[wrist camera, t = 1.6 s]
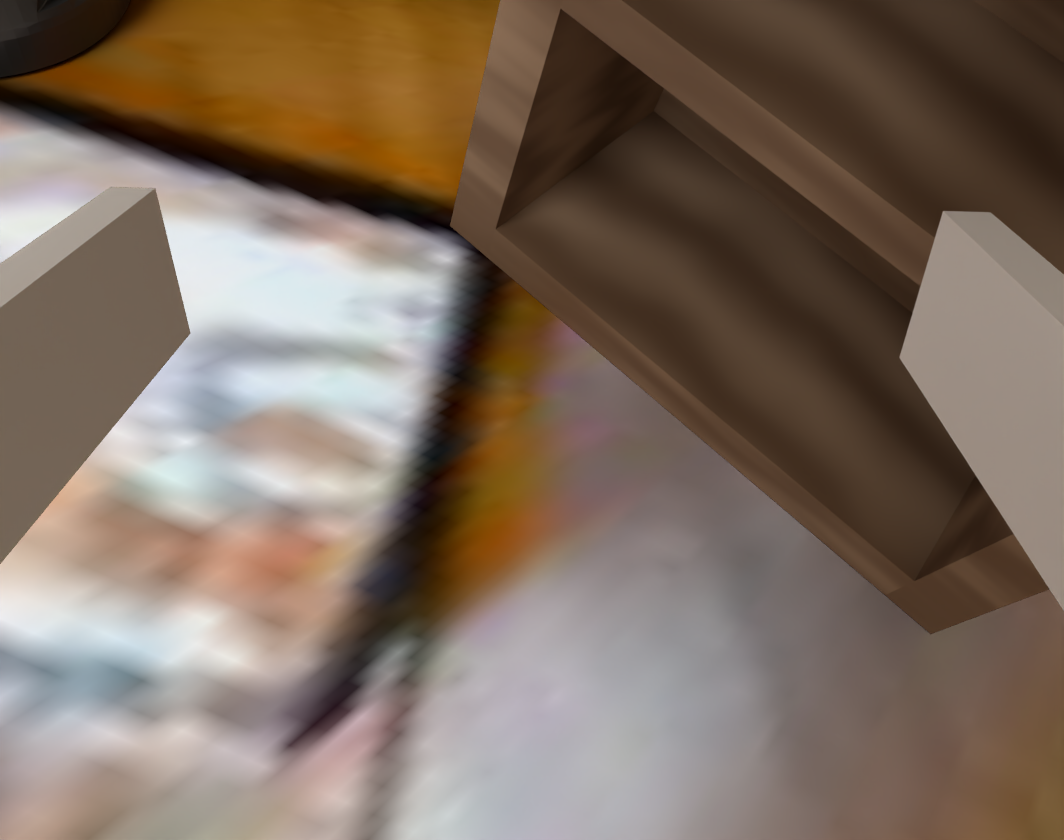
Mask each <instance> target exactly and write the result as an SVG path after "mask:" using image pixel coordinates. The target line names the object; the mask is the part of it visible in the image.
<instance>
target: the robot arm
mask: <svg viewBox="0 0 1064 840" xmlns="http://www.w3.org/2000/svg"><path fill="white" fill-rule="evenodd" d="M129 3H130V0H0V77H5V76H11V75H17V74H21V73H26V72H30V71H34V70H38V69H41V68H44V67H47V66H50V65H53V64H56V63H59V62H61V61H64V60H66V59H68V58H70V57H72V56H75V55H77V54H78V53H80V52H82V51H84V50H86V49H87V48H89V47H90V46H92V45H94V44H95V43H96V42H98V41H99V40H100V39H102V38H103V37H104V36H105V35H106V34H107V33H109V32H110V31H111V30H112V28H113V27H114V26H115V25H116V24H117V23H118V22H119V20H120V19H121V18H122V16H123V14H124V13H125V11H126V9H127V7H128V5H129ZM189 334H190V330H189V325H188V321H187V317H186V313H185V309H184V305H183V301H182V297H181V293H180V288H179V284H178V280H177V276H176V272H175V268H174V264H173V260H172V255H171V251H170V247H169V243H168V239H167V235H166V231H165V227H164V223H163V218H162V214H161V210H160V206H159V202H158V198H157V194H156V190H155V188H126V187H110V188H109V189H107V190H106V191H104V192H103V193H101V194H100V195H98V196H97V197H96V198H94V199H93V200H91V201H90V202H88V203H87V204H85V205H84V206H83V207H81V208H80V209H78V210H77V211H75V212H74V213H73V214H71V215H70V216H68V217H67V218H65V219H64V220H62V221H61V222H60V223H58V224H57V225H55V226H54V227H52V228H51V229H49V230H48V231H47V232H45V233H44V234H42V235H41V236H39V237H38V238H36V239H35V240H34V241H32V242H31V243H29V244H28V245H26V246H25V247H24V248H22V249H21V250H19V251H18V252H16V253H15V254H13V255H12V256H11V257H9V258H8V259H6V260H5V261H3V262H2V263H0V564H1V562H2V561H3V560H4V559H5V558H6V556H7V555H8V554H9V553H10V552H11V550H12V549H13V548H14V547H15V545H16V544H17V543H18V542H19V541H20V539H21V538H22V537H23V536H24V535H25V533H26V532H27V531H28V530H29V528H30V527H31V526H32V525H33V524H34V522H35V521H36V520H37V519H38V518H39V516H40V515H41V514H42V513H43V512H44V510H45V509H46V508H47V507H48V505H49V504H50V503H51V502H52V501H53V499H54V498H55V497H56V496H57V495H58V493H59V492H60V491H61V490H62V488H63V487H64V486H65V485H66V484H67V482H68V481H69V480H70V479H71V478H72V476H73V475H74V474H75V473H76V471H77V470H78V469H79V468H80V467H81V465H82V464H83V463H84V462H85V461H86V459H87V458H88V457H89V456H90V454H91V453H92V452H93V451H94V450H95V448H96V447H97V446H98V445H99V444H100V442H101V441H102V440H103V439H104V437H105V436H106V435H107V434H108V433H109V431H110V430H111V429H112V428H113V427H114V425H115V424H116V423H117V422H118V421H119V419H120V418H121V417H122V416H123V414H124V413H125V412H126V411H127V410H128V408H129V407H130V406H131V405H132V404H133V402H134V401H135V400H136V399H137V397H138V396H139V395H140V394H141V393H142V391H143V390H144V389H145V388H146V387H147V385H148V384H149V383H150V382H151V380H152V379H153V378H154V377H155V376H156V374H157V373H158V372H159V371H160V370H161V368H162V367H163V366H164V365H165V363H166V362H167V361H168V360H169V359H170V357H171V356H172V355H173V354H174V353H175V351H176V350H177V349H178V348H179V346H180V345H181V344H182V343H183V342H184V340H185V339H186V338H187V337H188V336H189ZM899 358H900V359H901V361H902V362H903V364H904V365H905V367H906V368H907V370H908V372H909V373H910V375H911V376H912V378H913V379H914V381H915V382H916V384H917V385H918V387H919V389H920V390H921V392H922V393H923V395H924V396H925V398H926V399H927V401H928V402H929V404H930V406H931V407H932V409H933V410H934V412H935V413H936V415H937V416H938V418H939V419H940V421H941V422H942V424H943V426H944V427H945V429H946V430H947V432H948V433H949V435H950V436H951V438H952V439H953V441H954V443H955V444H956V446H957V447H958V449H959V450H960V452H961V453H962V455H963V456H964V458H965V460H966V461H967V463H968V464H969V466H970V467H971V469H972V470H973V472H974V473H975V475H976V476H977V478H978V480H979V481H980V483H981V484H982V486H983V487H984V489H985V490H986V492H987V493H988V495H989V497H990V498H991V500H992V501H993V503H994V504H995V506H996V507H997V509H998V510H999V512H1000V514H1001V515H1002V517H1003V518H1004V520H1005V521H1006V523H1007V524H1008V526H1009V527H1010V529H1011V530H1012V532H1013V534H1014V535H1015V537H1016V538H1017V540H1018V541H1019V543H1020V544H1021V546H1022V547H1023V549H1024V551H1025V552H1026V554H1027V555H1028V557H1029V558H1030V560H1031V561H1032V563H1033V564H1034V566H1035V568H1036V569H1037V571H1038V572H1039V574H1040V575H1041V577H1042V578H1043V580H1044V581H1045V583H1046V584H1047V586H1048V588H1049V589H1050V591H1051V592H1052V594H1053V595H1054V597H1055V598H1056V600H1057V601H1058V603H1059V605H1060V606H1061V608H1062V609H1063V611H1064V274H1062V273H1061V272H1060V271H1059V270H1058V269H1057V268H1055V267H1054V266H1053V265H1052V264H1051V263H1050V262H1048V261H1047V260H1046V259H1045V258H1044V257H1042V256H1041V255H1040V254H1039V253H1038V252H1037V251H1035V250H1034V249H1033V248H1032V247H1031V246H1030V245H1028V244H1027V243H1026V242H1025V241H1024V240H1022V239H1021V238H1020V237H1019V236H1018V235H1017V234H1015V233H1014V232H1013V231H1012V230H1011V229H1010V228H1008V227H1007V226H1006V225H1005V224H1004V223H1002V222H1001V221H1000V220H999V219H998V218H997V217H995V216H994V215H993V214H992V213H991V212H963V211H943V213H942V216H941V219H940V223H939V226H938V229H937V233H936V236H935V239H934V243H933V246H932V250H931V253H930V256H929V260H928V263H927V266H926V270H925V273H924V276H923V280H922V283H921V287H920V290H919V293H918V297H917V300H916V303H915V307H914V310H913V313H912V317H911V320H910V323H909V327H908V330H907V334H906V337H905V340H904V344H903V347H902V350H901V354H900V357H899Z"/></svg>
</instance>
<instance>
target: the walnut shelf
mask: <svg viewBox="0 0 1064 840" xmlns="http://www.w3.org/2000/svg"><path fill="white" fill-rule="evenodd" d="M943 211H963V212H991V213H992V214H993V215H994V216H995V217H997V218H998V219H999V220H1000V221H1001V222H1002V223H1004V224H1005V225H1006V226H1007V227H1008V228H1010V229H1011V230H1012V231H1013V232H1014V233H1015V234H1017V235H1018V236H1019V237H1020V238H1021V239H1022V240H1024V241H1025V242H1026V243H1027V244H1028V245H1030V246H1031V247H1032V248H1033V249H1034V250H1035V251H1037V252H1038V253H1039V254H1040V255H1041V256H1042V257H1044V258H1045V259H1046V260H1047V261H1048V262H1050V263H1051V264H1052V265H1053V266H1054V267H1055V268H1057V269H1058V270H1059V271H1060V272H1061V273H1062V274H1064V0H500V4H499V9H498V13H497V18H496V22H495V27H494V31H493V36H492V40H491V45H490V49H489V54H488V58H487V63H486V67H485V71H484V76H483V80H482V85H481V89H480V94H479V98H478V103H477V107H476V112H475V116H474V121H473V125H472V130H471V134H470V139H469V143H468V148H467V152H466V157H465V161H464V166H463V170H462V174H461V179H460V183H459V188H458V192H457V197H456V201H455V206H454V210H453V215H452V219H451V224H450V226H451V227H452V228H453V229H454V230H456V231H457V232H458V233H459V234H460V235H461V236H463V237H464V238H465V239H466V240H467V241H469V242H470V243H471V244H472V245H473V246H474V247H476V248H477V249H478V250H479V251H480V252H481V253H483V254H484V255H485V256H486V257H487V258H489V259H490V260H491V261H492V262H493V263H494V264H496V265H497V266H498V267H499V268H500V269H502V270H503V271H504V272H505V273H506V274H507V275H509V276H510V277H511V278H512V279H513V280H514V281H516V282H517V283H518V284H519V285H520V286H522V287H523V288H524V289H525V290H526V291H527V292H529V293H530V294H531V295H532V296H533V297H534V298H536V299H537V300H538V301H539V302H540V303H542V304H543V305H544V306H545V307H546V308H547V309H549V310H550V311H551V312H552V313H553V314H555V315H556V316H557V317H558V318H559V319H560V320H562V321H563V322H564V323H565V324H566V325H567V326H569V327H570V328H571V329H572V330H573V331H575V332H576V333H577V334H578V335H579V336H580V337H582V338H583V339H584V340H585V341H586V342H588V343H589V344H590V345H591V346H592V347H593V348H595V349H596V350H597V351H598V352H599V353H600V354H602V355H603V356H604V357H605V358H606V359H608V360H609V361H610V362H611V363H612V364H613V365H615V366H616V367H617V368H618V369H619V370H620V371H622V372H623V373H624V374H625V375H626V376H628V377H629V378H630V379H631V380H632V381H633V382H635V383H636V384H637V385H638V386H639V387H641V388H642V389H643V390H644V391H645V392H646V393H648V394H649V395H650V396H651V397H652V398H653V399H655V400H656V401H657V402H658V403H659V404H661V405H662V406H663V407H664V408H665V409H666V410H668V411H669V412H670V413H671V414H672V415H673V416H675V417H676V418H677V419H678V420H679V421H681V422H682V423H683V424H684V425H685V426H686V427H688V428H689V429H690V430H691V431H692V432H694V433H695V434H696V435H697V436H698V437H699V438H701V439H702V440H703V441H704V442H705V443H706V444H708V445H709V446H710V447H711V448H712V449H714V450H715V451H716V452H717V453H718V454H719V455H721V456H722V457H723V458H724V459H725V460H726V461H728V462H729V463H730V464H731V465H732V466H734V467H735V468H736V469H737V470H738V471H739V472H741V473H742V474H743V475H744V476H745V477H747V478H748V479H749V480H750V481H751V482H752V483H754V484H755V485H756V486H757V487H758V488H759V489H761V490H762V491H763V492H764V493H765V494H767V495H768V496H769V497H770V498H771V499H772V500H774V501H775V502H776V503H777V504H778V505H779V506H781V507H782V508H783V509H784V510H785V511H787V512H788V513H789V514H790V515H791V516H792V517H794V518H795V519H796V520H797V521H798V522H800V523H801V524H802V525H803V526H804V527H805V528H807V529H808V530H809V531H810V532H811V533H812V534H814V535H815V536H816V537H817V538H818V539H820V540H821V541H822V542H823V543H824V544H825V545H827V546H828V547H829V548H830V549H831V550H832V551H834V552H835V553H836V554H837V555H838V556H840V557H841V558H842V559H843V560H844V561H845V562H847V563H848V564H849V565H850V566H851V567H853V568H854V569H855V570H856V571H857V572H858V573H860V574H861V575H862V576H863V577H864V578H865V579H867V580H868V581H869V582H870V583H871V584H873V585H874V586H875V587H876V588H877V589H878V590H880V591H881V592H882V593H883V594H884V595H886V596H887V597H888V598H889V599H890V600H891V601H893V602H894V603H895V604H896V605H897V606H898V607H900V608H901V609H902V610H903V611H904V612H906V613H907V614H908V615H909V616H910V617H911V618H913V619H914V620H915V621H916V622H917V623H918V624H920V625H921V626H922V627H923V628H924V629H926V630H927V631H928V632H929V633H930V634H932V633H935V632H937V631H940V630H943V629H945V628H948V627H951V626H953V625H956V624H959V623H961V622H964V621H966V620H969V619H972V618H974V617H977V616H980V615H982V614H985V613H988V612H990V611H993V610H996V609H998V608H1001V607H1003V606H1006V605H1009V604H1011V603H1014V602H1017V601H1019V600H1022V599H1025V598H1027V597H1030V596H1033V595H1035V594H1038V593H1040V592H1043V591H1046V590H1048V589H1049V588H1048V586H1047V584H1046V583H1045V581H1044V580H1043V578H1042V577H1041V575H1040V574H1039V572H1038V571H1037V569H1036V568H1035V566H1034V564H1033V563H1032V561H1031V560H1030V558H1029V557H1028V555H1027V554H1026V552H1025V551H1024V549H1023V547H1022V546H1021V544H1020V543H1019V541H1018V540H1017V538H1016V537H1015V535H1014V534H1013V532H1012V530H1011V529H1010V527H1009V526H1008V524H1007V523H1006V521H1005V520H1004V518H1003V517H1002V515H1001V514H1000V512H999V510H998V509H997V507H996V506H995V504H994V503H993V501H992V500H991V498H990V497H989V495H988V493H987V492H986V490H985V489H984V487H983V486H982V484H981V483H980V481H979V480H978V478H977V476H976V475H975V473H974V472H973V470H972V469H971V467H970V466H969V464H968V463H967V461H966V460H965V458H964V456H963V455H962V453H961V452H960V450H959V449H958V447H957V446H956V444H955V443H954V441H953V439H952V438H951V436H950V435H949V433H948V432H947V430H946V429H945V427H944V426H943V424H942V422H941V421H940V419H939V418H938V416H937V415H936V413H935V412H934V410H933V409H932V407H931V406H930V404H929V402H928V401H927V399H926V398H925V396H924V395H923V393H922V392H921V390H920V389H919V387H918V385H917V384H916V382H915V381H914V379H913V378H912V376H911V375H910V373H909V372H908V370H907V368H906V367H905V365H904V364H903V362H902V361H901V359H900V358H899V357H900V354H901V350H902V347H903V344H904V340H905V337H906V334H907V330H908V327H909V323H910V320H911V317H912V313H913V310H914V307H915V303H916V300H917V297H918V293H919V290H920V287H921V283H922V280H923V276H924V273H925V270H926V266H927V263H928V260H929V256H930V253H931V250H932V246H933V243H934V239H935V236H936V233H937V229H938V226H939V223H940V219H941V216H942V213H943Z"/></svg>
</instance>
